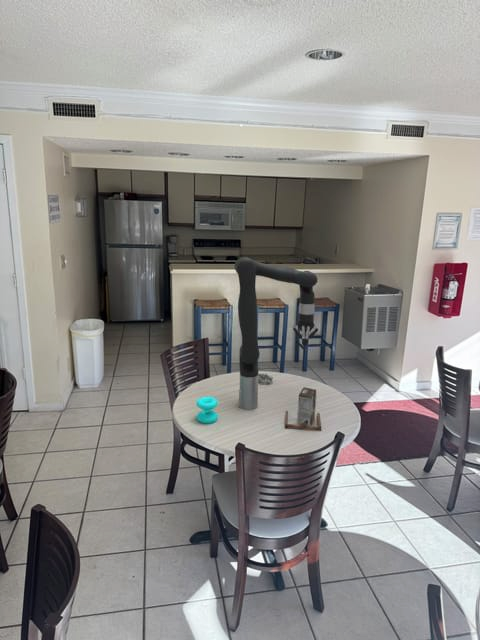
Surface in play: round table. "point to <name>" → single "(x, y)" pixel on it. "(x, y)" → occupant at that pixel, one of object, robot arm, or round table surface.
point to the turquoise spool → (207, 410)
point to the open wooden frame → (303, 427)
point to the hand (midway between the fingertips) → (304, 345)
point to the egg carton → (263, 377)
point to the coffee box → (306, 406)
